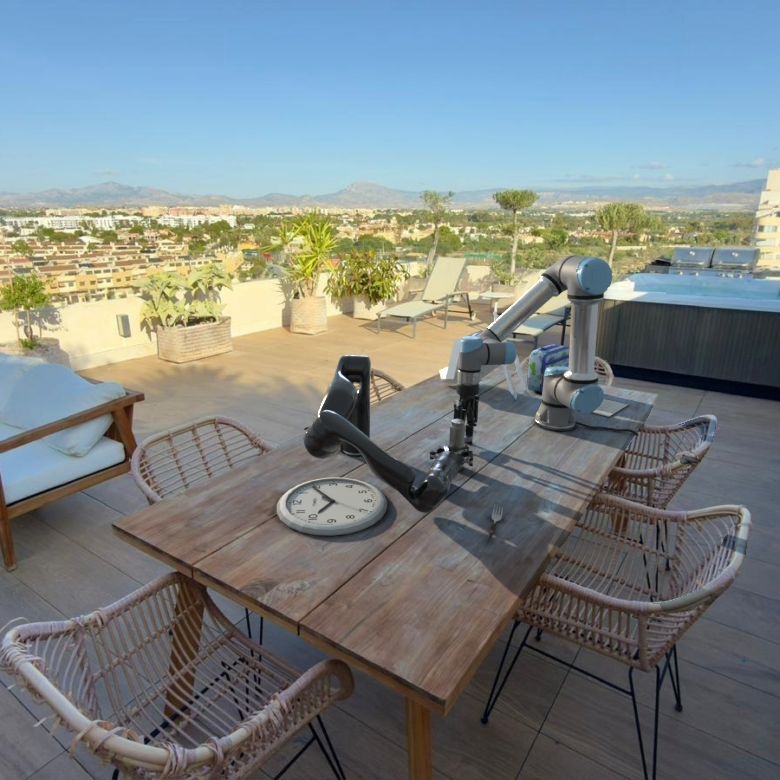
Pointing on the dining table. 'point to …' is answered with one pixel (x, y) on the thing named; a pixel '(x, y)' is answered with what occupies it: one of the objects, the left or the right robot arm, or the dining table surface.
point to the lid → (468, 437)
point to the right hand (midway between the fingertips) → (463, 445)
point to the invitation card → (609, 407)
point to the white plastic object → (451, 375)
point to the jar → (457, 436)
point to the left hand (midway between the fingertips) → (458, 446)
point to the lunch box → (545, 364)
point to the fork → (494, 518)
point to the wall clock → (331, 506)
